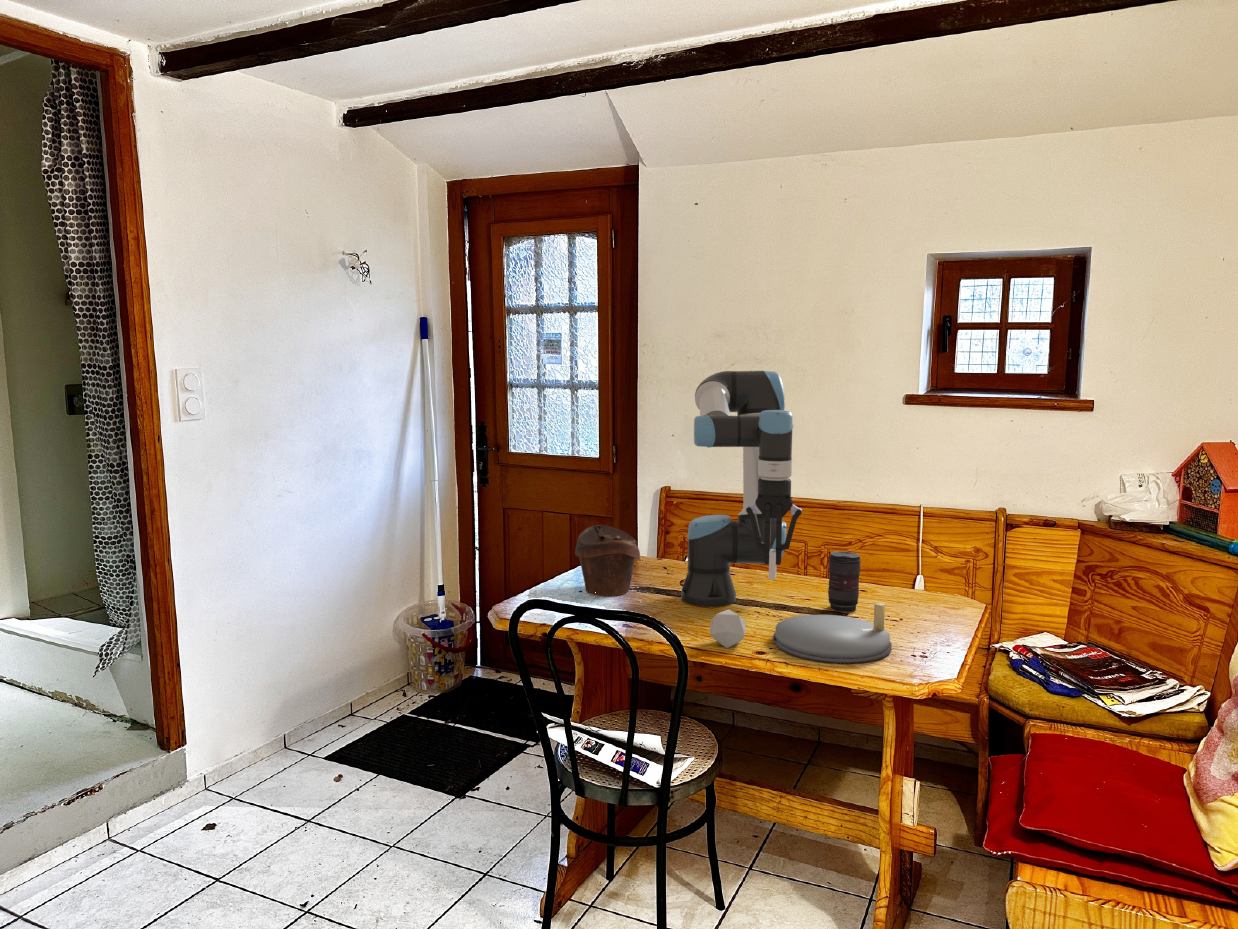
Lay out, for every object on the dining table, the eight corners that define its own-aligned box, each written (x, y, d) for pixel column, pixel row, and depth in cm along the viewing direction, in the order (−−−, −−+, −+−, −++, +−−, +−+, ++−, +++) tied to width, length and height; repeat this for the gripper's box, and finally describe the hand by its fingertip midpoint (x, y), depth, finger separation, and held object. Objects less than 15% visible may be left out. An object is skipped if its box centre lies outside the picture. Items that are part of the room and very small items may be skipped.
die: (724, 638, 207) (702, 610, 204) (754, 625, 204) (733, 596, 201) (722, 660, 200) (699, 632, 197) (753, 647, 196) (731, 618, 194)
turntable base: (753, 648, 197) (753, 644, 197) (800, 619, 219) (800, 615, 219) (868, 673, 182) (868, 668, 182) (906, 639, 204) (906, 635, 204)
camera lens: (860, 614, 224) (861, 558, 222) (828, 612, 226) (829, 556, 224) (857, 605, 232) (859, 551, 230) (827, 603, 233) (828, 550, 232)
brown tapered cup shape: (621, 604, 234) (621, 539, 231) (562, 593, 244) (561, 532, 242) (653, 588, 249) (653, 528, 246) (596, 579, 259) (595, 521, 257)
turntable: (795, 661, 186) (796, 625, 185) (762, 624, 212) (762, 593, 211) (909, 656, 189) (910, 621, 188) (862, 620, 215) (863, 589, 214)
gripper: (744, 479, 193) (742, 580, 197) (803, 481, 190) (800, 584, 193) (747, 474, 201) (745, 572, 204) (804, 476, 197) (801, 575, 201)
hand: (772, 577), depth 199 cm, fingers closed
